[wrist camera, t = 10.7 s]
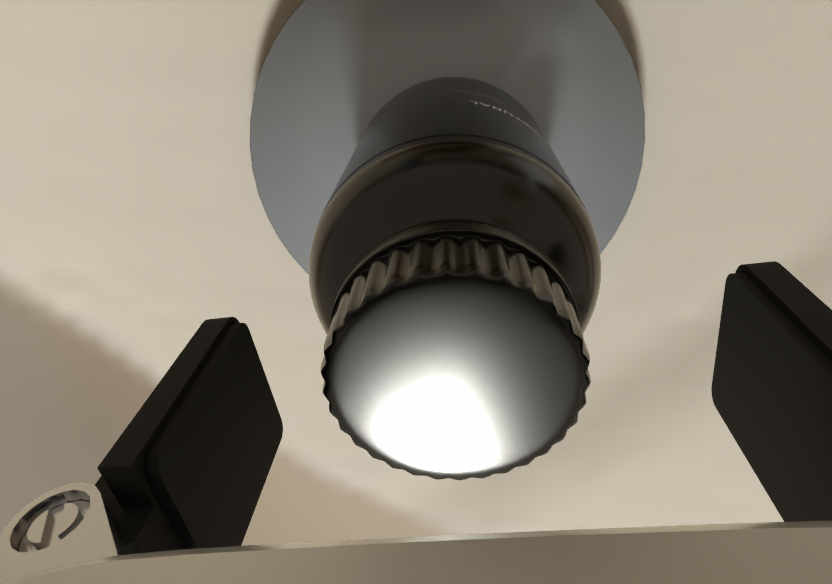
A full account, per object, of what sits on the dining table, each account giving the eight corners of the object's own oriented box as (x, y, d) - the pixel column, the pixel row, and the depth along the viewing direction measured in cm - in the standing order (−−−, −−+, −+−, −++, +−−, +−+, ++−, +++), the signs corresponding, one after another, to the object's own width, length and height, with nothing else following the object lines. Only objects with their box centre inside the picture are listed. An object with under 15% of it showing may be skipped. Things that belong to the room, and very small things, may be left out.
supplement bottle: (553, 67, 18) (704, 205, 8) (538, 254, 22) (629, 520, 11) (344, 74, 18) (226, 217, 8) (363, 257, 22) (295, 519, 12)
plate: (644, -101, 17) (657, -105, 16) (627, 293, 24) (635, 308, 23) (205, -19, 18) (191, -19, 17) (311, 328, 25) (305, 344, 24)
